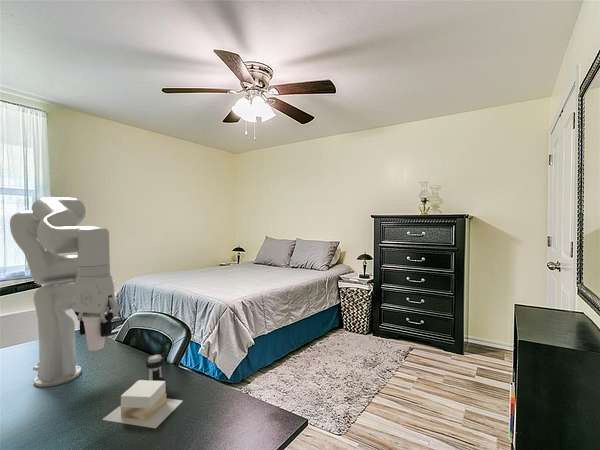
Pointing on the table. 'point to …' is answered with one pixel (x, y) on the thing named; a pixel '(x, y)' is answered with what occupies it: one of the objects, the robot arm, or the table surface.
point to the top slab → (143, 394)
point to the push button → (155, 367)
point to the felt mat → (151, 423)
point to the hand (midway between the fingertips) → (95, 333)
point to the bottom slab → (143, 410)
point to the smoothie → (93, 331)
